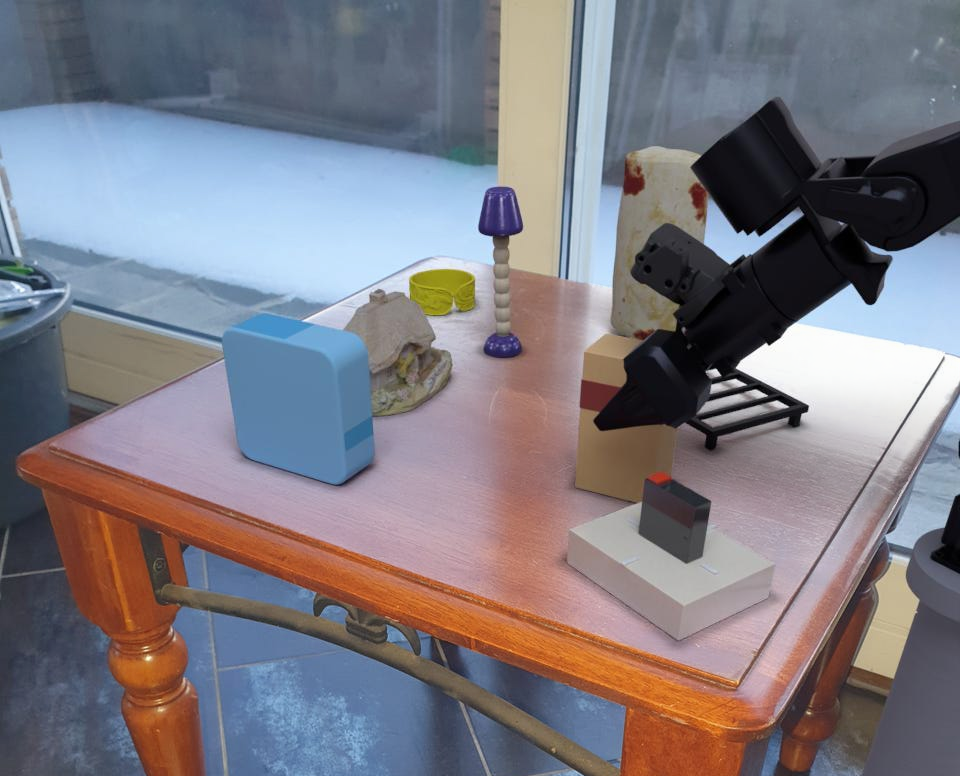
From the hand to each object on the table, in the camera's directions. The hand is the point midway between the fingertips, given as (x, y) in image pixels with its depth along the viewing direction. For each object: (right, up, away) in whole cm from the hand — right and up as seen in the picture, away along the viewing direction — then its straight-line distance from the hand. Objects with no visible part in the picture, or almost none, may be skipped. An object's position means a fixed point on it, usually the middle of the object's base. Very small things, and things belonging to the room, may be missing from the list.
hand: (617, 403), depth 81 cm
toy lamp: (-9, +13, +29) cm, 33 cm away
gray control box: (+2, -12, -9) cm, 16 cm away
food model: (+8, +15, +32) cm, 36 cm away
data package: (-27, -4, +7) cm, 28 cm away
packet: (+1, -6, +4) cm, 7 cm away
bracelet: (-16, +22, +41) cm, 49 cm away
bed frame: (+10, +4, +18) cm, 21 cm away
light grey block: (+2, -15, -8) cm, 17 cm away
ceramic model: (-21, +6, +20) cm, 30 cm away
